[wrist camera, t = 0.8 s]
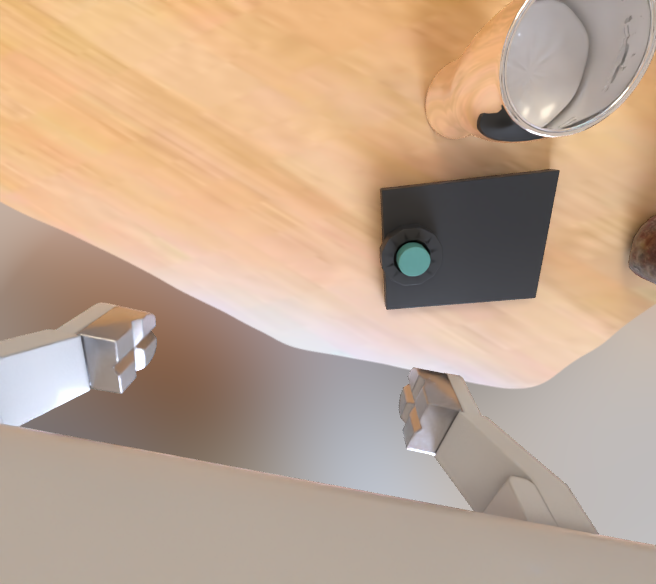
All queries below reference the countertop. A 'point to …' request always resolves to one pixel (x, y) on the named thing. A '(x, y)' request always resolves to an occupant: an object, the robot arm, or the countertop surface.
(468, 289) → the scale
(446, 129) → the beer glass
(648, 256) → the candle
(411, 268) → the button
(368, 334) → the countertop surface
